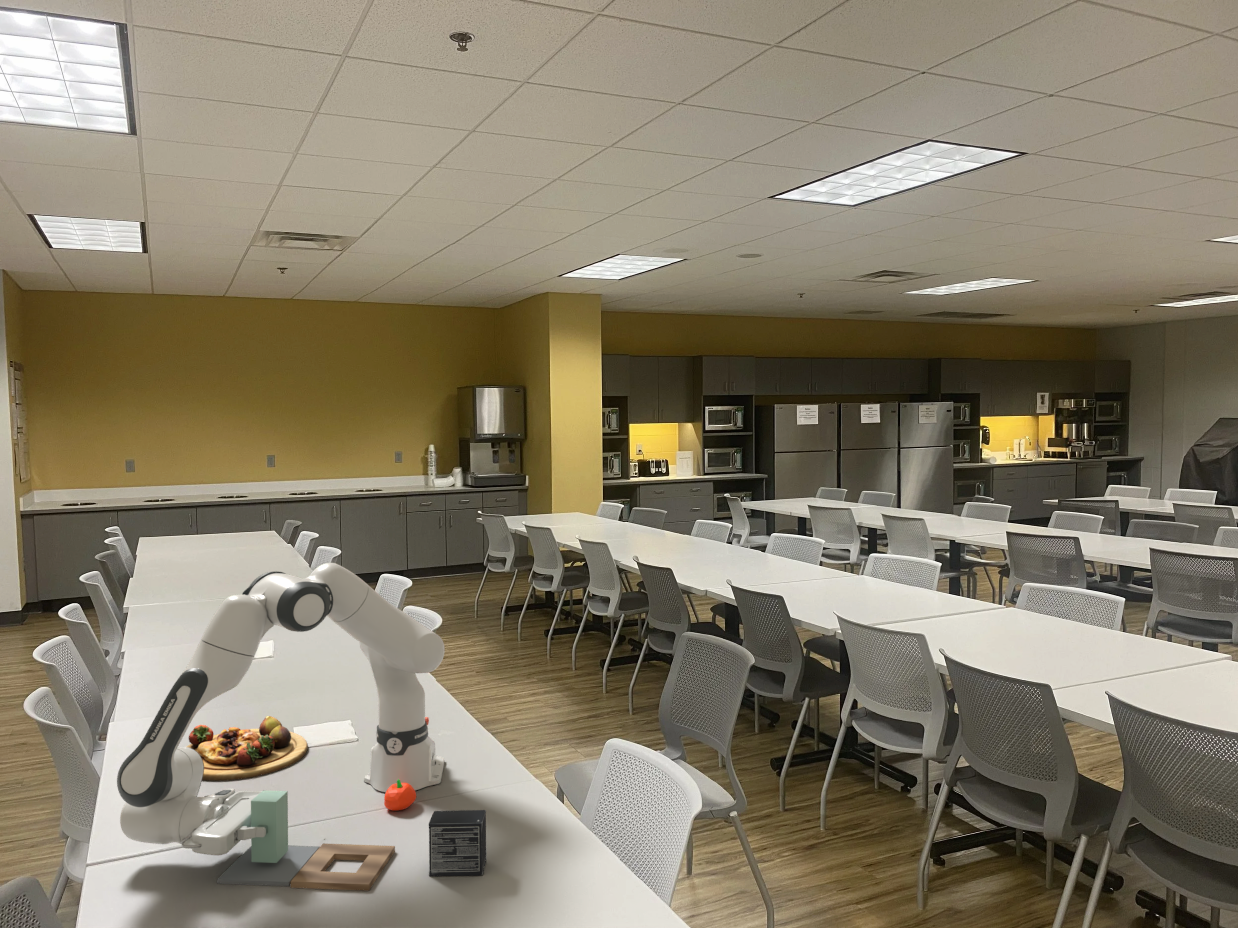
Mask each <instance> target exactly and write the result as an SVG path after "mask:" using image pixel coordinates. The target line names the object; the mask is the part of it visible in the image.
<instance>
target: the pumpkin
mask: <svg viewBox="0 0 1238 928" xmlns="http://www.w3.org/2000/svg"><path fill="white" fill-rule="evenodd" d="M383 798H384V799H383V800H384V802H383V803H384V808H386V809H388V810H390V811H394V812H395V811H402V810H403V811H404V810H405V809H408V808H409V807H410V806H411V805H412V804H414V802H415V801H416V798H417V792H416V790H414V789H413V787H412V786H411V785H410V784H408V783H401V782H400V780H399V779H398V780H397V783H396V784H392V785H391V786H390V787H389V788H388V789H387V791H386V792H384V797H383Z"/></svg>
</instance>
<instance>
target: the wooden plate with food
mask: <svg viewBox="0 0 1238 928" xmlns="http://www.w3.org/2000/svg"><path fill="white" fill-rule="evenodd" d="M188 742H189V744H188V745H186V747H189V748H192V749H194V750H195V751H197V752H198V753H199V754H200V756H201V758H202V760H203V763H204V773H203V778H202V781H210V782H212V781H214V782H216V781H217V782H219V781H220V782H221V781H222V782H223V781H236V780H243V779H250V778H256V777H260V776H264V775H268V774H271V773H275V772H278V771H280V770H283V769H286V768H287V767H288V768H289V767H290V766H292V765H294V764H296V763H297V762H299V761H300V760H301V759H303V757H304V756H305V755H306V754H307V751H308V749H309V745H308V744H309V743H308V741H307V740H306V739H305V738H304V736H302V735H300V734H299V733H295V732H294V731H293V732H292V731H290V730H289V729H288V728H287V727H285V726H283V724H282V723H281V721H280V720H278V719H277V717H274V716H270V715H267V716H265V717H264V719H263V720H262V721H261V722H260V725H259V727H258V728H245V729H241V728H239V727H236V726H233V727H229V728H228V729H225V728H224V729H222V730H221V732H220V733H218V734H214V731H213V729H212V728H210V726H208V725H205V724H199V725H196V726H195V727H193V729H192V731H191V732H190V733H189V735H188Z"/></svg>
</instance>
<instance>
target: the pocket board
mask: <svg viewBox="0 0 1238 928" xmlns="http://www.w3.org/2000/svg"><path fill="white" fill-rule="evenodd" d="M394 853H396V845H379V844H378V845H375V844H352V843H351V844H350V843H349V844H348V843H347V844H346V843H325V842H324V843H322V844H321V845H320V848H319V849H318V850H317V851H316V852H315V853H314V855H313V856H312V857H311V858H310V859H309V860H308V862H307V863H306V864H305V865H304V866H303V867H302V869H301V870H300V871H299V872H298V873H297V874H296V876H295V877H294V878H293V879H292V880H291V885H290V888H291V889H292V888H293V889H315V890H317V889H319V890H341V891H342V890H343V891H362V892H363V891H367V892H368V891H369V892H370V890H371V888H372V887H373V885H374V884H375V882H376V881H377V880H378V878H379V876H380V875H381V874H382V872H383V870H384V869H385V867H386V866H387V864H388V863H389V861H390V860H391V859H392V857H393V855H394ZM335 860H337V861H339V860H340V861H363V862H362V864H361V865H359V866H360V867H359V868H358V869H357V870H356V871H355V872H349V871H348V872H344V871H327V869H329V867H330V866H331V865H332V863H333V862H334V861H335Z"/></svg>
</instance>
